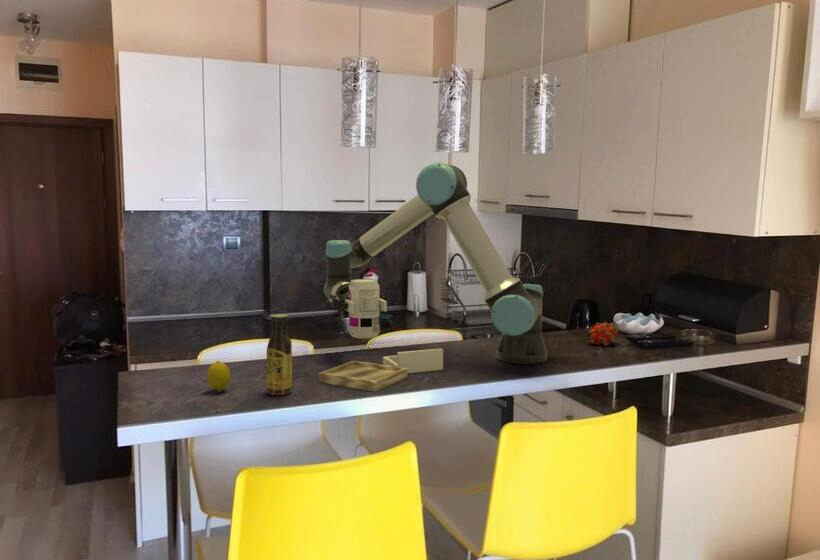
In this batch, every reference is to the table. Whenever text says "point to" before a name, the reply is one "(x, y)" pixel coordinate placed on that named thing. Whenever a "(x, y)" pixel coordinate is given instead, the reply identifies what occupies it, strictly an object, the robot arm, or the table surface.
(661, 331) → the table surface
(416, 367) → the dock
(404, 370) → the tray
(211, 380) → the lemon
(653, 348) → the table surface
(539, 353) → the robot arm
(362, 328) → the supplement can
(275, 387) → the sauce bottle
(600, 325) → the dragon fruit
